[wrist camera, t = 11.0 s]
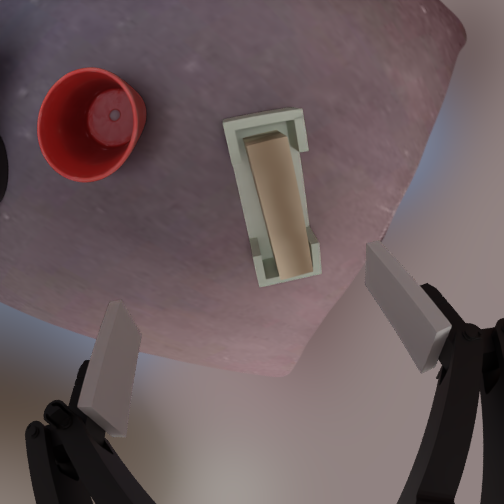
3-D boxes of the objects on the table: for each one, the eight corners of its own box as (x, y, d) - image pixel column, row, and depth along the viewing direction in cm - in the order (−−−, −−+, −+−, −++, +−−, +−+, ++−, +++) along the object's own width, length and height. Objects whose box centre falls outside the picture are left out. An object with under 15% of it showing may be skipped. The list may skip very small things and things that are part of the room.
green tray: (255, 266, 41) (259, 287, 37) (222, 119, 31) (222, 122, 27) (311, 253, 41) (321, 273, 37) (291, 107, 31) (302, 108, 27)
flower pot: (145, 58, 26) (117, 46, 18) (171, 142, 32) (152, 159, 24) (68, 95, 27) (24, 100, 19) (94, 172, 32) (59, 198, 24)
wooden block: (272, 254, 40) (280, 280, 35) (242, 137, 32) (246, 146, 27) (301, 247, 40) (313, 271, 35) (276, 129, 32) (287, 136, 27)
